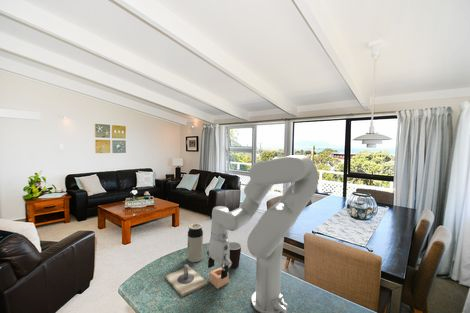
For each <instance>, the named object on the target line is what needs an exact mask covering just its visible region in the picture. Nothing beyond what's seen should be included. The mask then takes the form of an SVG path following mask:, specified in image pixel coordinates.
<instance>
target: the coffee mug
mask: <svg viewBox="0 0 470 313" xmlns="http://www.w3.org/2000/svg"><path fill="white" fill-rule="evenodd" d="M229 248H230V258H229V259H230V260H231V262H232V264H231V267H230V268H229V269H236V268H238V267H239V266H240V259H241V252H242V244H241V243H239V242H236V241H229Z"/></svg>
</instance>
